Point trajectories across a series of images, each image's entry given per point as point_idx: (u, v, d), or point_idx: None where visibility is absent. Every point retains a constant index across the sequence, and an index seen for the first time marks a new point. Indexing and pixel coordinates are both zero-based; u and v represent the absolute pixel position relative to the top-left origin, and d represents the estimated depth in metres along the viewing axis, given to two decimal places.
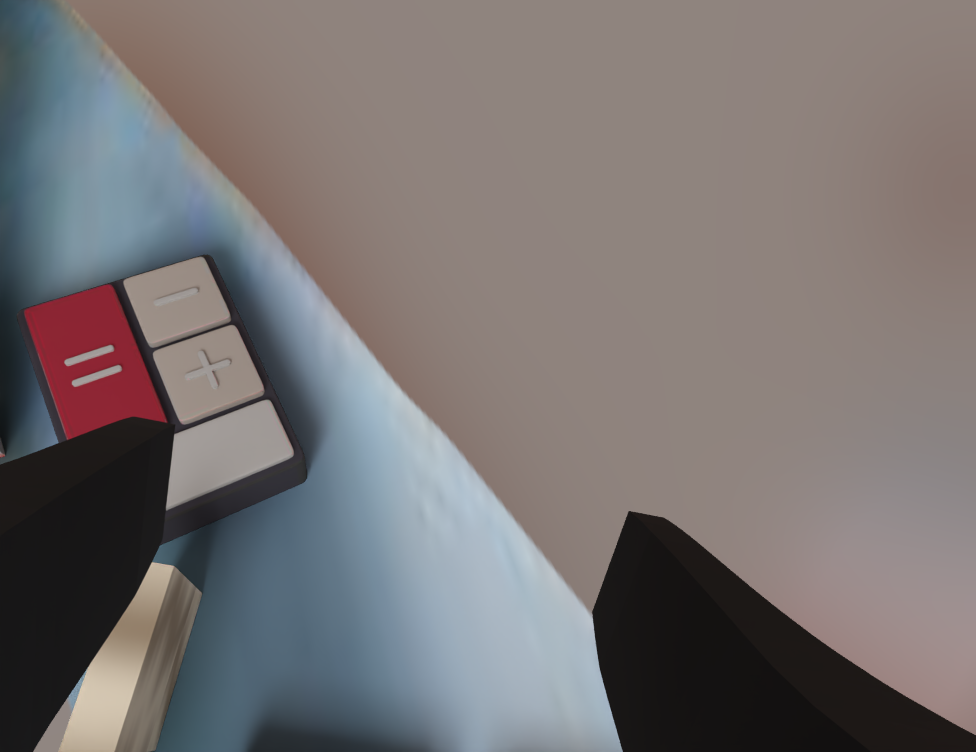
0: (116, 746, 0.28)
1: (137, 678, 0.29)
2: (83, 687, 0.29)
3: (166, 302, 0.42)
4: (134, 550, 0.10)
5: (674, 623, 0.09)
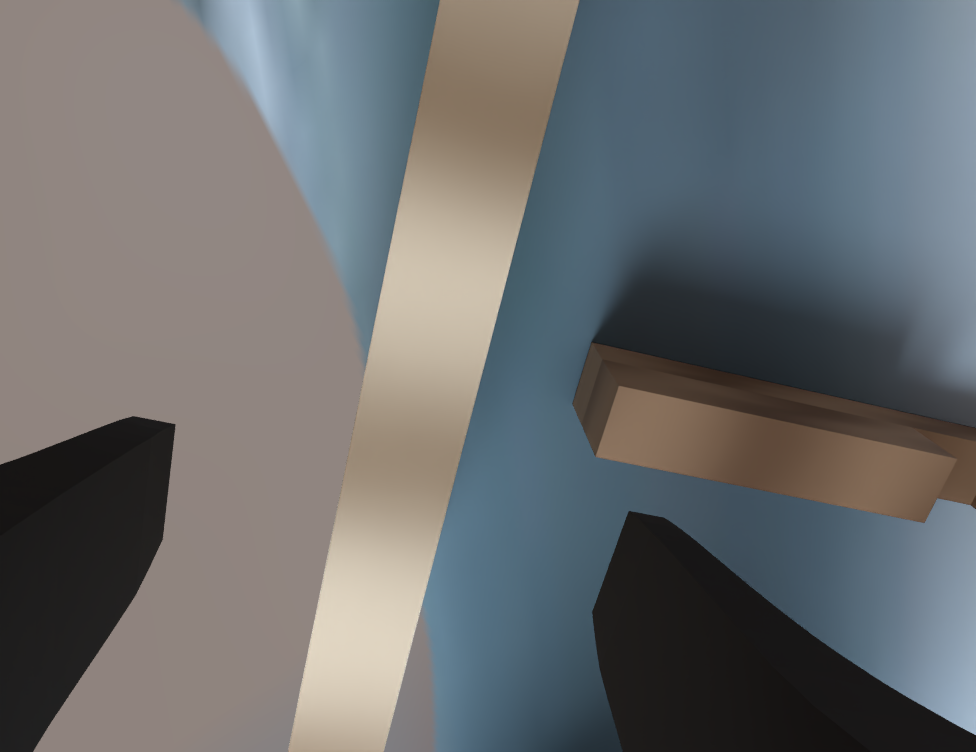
0: (479, 381, 0.13)
1: (513, 245, 0.12)
2: (394, 255, 0.12)
3: None
4: (134, 550, 0.10)
5: (674, 623, 0.09)
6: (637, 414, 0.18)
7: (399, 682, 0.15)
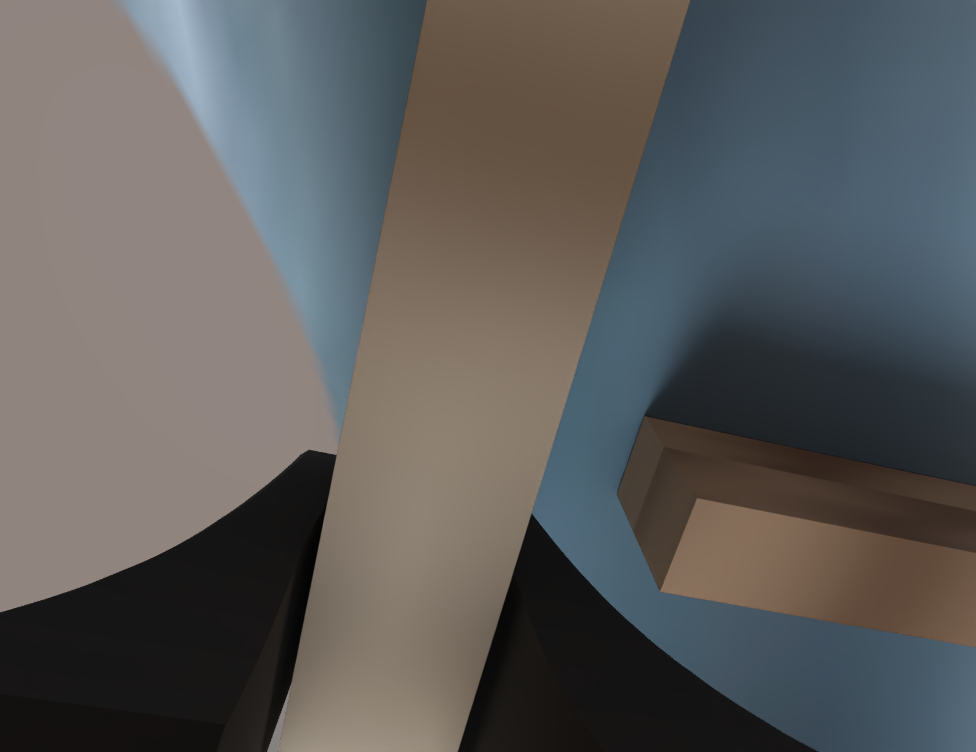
0: (512, 566, 0.08)
1: (579, 349, 0.07)
2: (364, 367, 0.07)
3: None
4: None
5: None
6: (720, 535, 0.13)
7: None
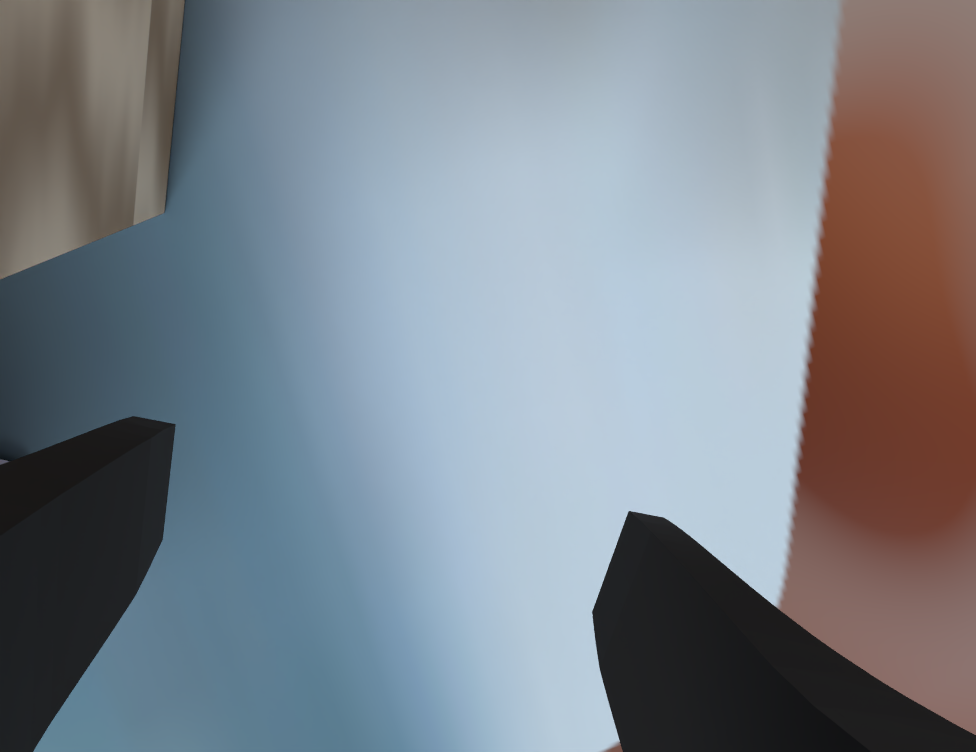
0: None
1: None
2: None
3: None
4: (134, 550, 0.10)
5: (674, 623, 0.09)
6: None
7: None
